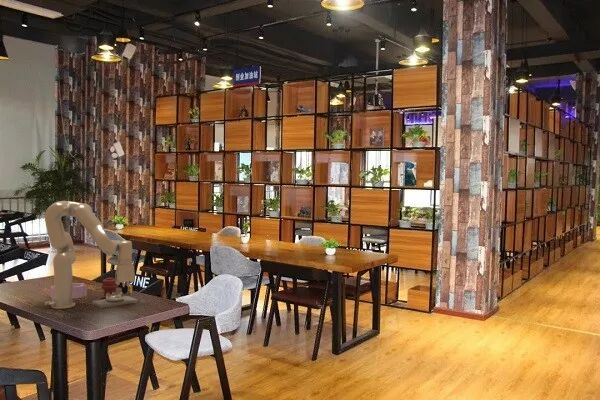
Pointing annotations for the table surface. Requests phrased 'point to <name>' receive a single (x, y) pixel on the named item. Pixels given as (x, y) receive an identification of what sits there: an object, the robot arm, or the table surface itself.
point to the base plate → (104, 303)
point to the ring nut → (118, 295)
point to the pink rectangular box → (74, 290)
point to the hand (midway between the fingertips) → (124, 293)
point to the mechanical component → (109, 286)
